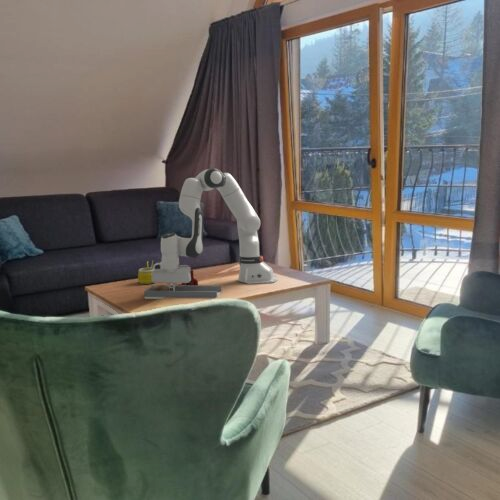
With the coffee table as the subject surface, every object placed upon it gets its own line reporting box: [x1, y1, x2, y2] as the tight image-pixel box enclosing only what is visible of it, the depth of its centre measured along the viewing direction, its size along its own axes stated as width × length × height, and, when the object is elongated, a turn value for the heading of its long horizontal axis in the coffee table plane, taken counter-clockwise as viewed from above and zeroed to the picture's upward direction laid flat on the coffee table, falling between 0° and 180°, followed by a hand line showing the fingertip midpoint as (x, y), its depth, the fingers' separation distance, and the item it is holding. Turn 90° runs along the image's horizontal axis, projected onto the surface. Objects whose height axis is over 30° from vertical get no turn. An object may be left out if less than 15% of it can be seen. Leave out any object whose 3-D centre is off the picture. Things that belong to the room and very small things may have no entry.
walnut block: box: [152, 284, 169, 291], centre depth 299 cm, size 8×6×4 cm
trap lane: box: [143, 284, 222, 300], centre depth 297 cm, size 38×12×4 cm, turn 81°
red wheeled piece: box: [181, 268, 199, 286], centre depth 317 cm, size 7×12×10 cm, turn 24°
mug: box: [137, 260, 154, 285], centre depth 329 cm, size 13×11×12 cm
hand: (172, 290), depth 298 cm, fingers closed
